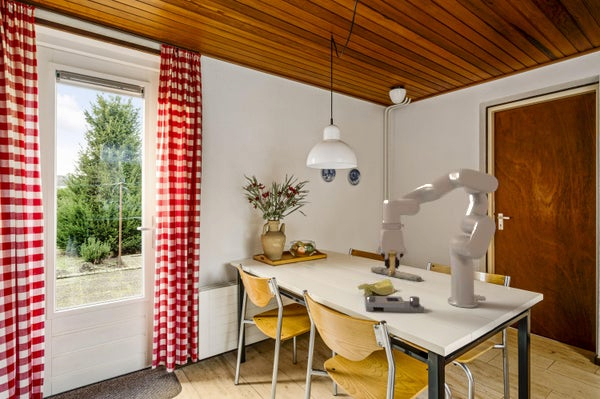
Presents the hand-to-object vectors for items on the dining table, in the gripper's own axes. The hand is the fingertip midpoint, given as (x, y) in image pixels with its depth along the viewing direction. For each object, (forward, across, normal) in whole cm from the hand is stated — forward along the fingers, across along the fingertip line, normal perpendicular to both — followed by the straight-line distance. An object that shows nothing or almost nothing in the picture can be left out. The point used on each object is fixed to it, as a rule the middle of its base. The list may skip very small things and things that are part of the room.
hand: (392, 267), depth 144 cm
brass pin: (+3, 0, 0) cm, 3 cm away
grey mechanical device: (+18, 0, 0) cm, 18 cm away
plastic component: (+19, +5, -22) cm, 30 cm away
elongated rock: (+19, -11, -59) cm, 63 cm away
